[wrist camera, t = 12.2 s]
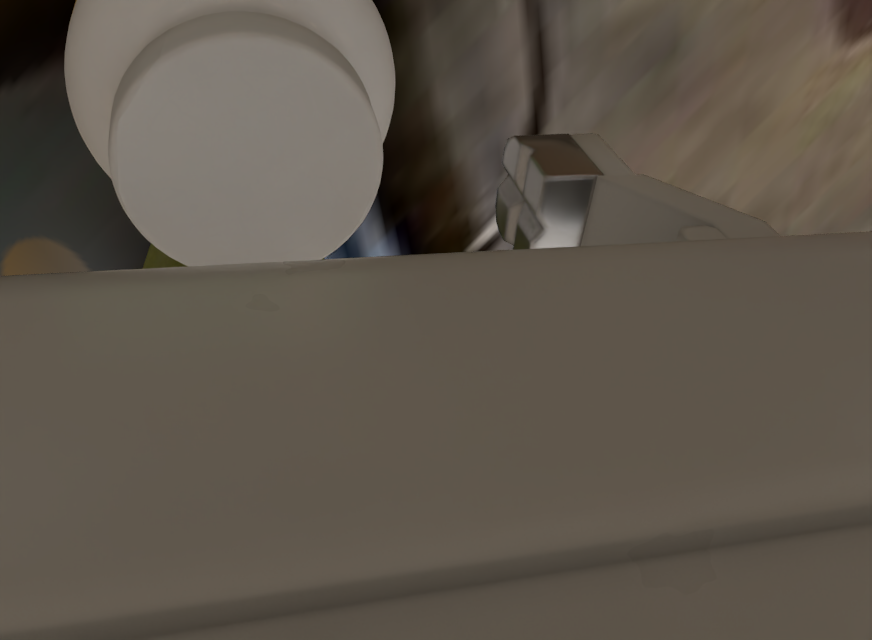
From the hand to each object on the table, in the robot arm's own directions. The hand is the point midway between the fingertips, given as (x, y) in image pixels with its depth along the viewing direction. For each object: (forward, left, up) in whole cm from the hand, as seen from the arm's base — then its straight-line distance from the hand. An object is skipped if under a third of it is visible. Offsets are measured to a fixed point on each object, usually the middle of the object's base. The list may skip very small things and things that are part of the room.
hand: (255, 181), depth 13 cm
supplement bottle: (0, 0, -15) cm, 15 cm away
